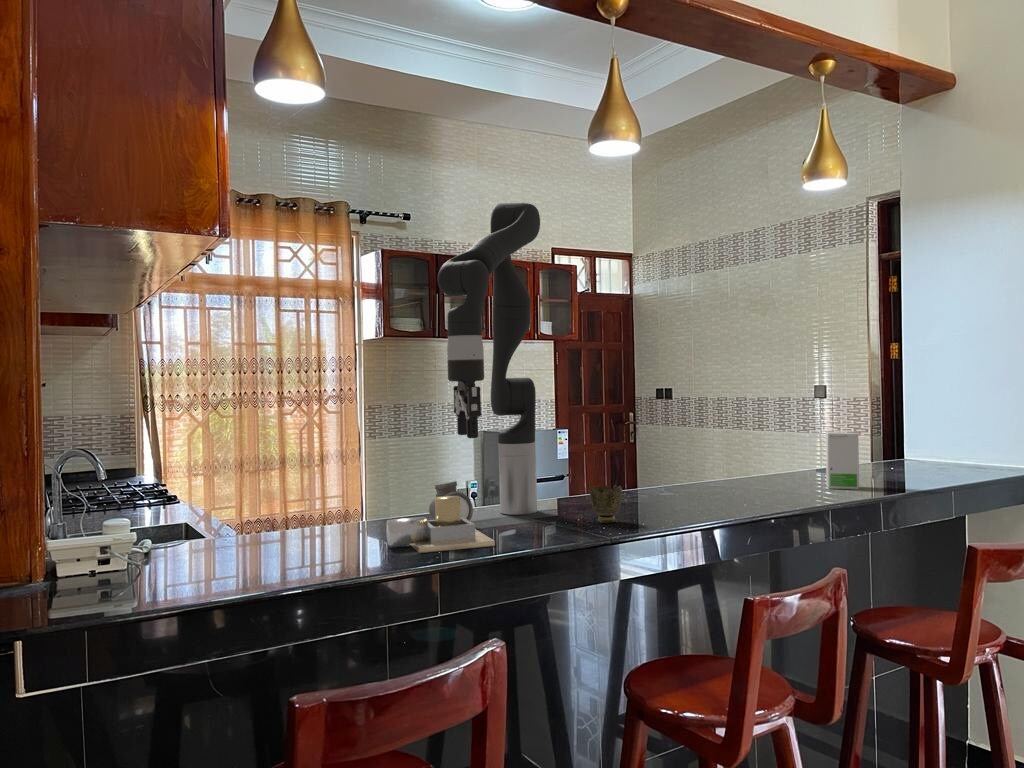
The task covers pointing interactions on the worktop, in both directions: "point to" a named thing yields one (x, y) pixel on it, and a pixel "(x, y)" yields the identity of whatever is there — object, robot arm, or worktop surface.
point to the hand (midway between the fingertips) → (467, 436)
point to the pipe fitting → (450, 490)
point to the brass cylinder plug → (447, 510)
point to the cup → (606, 502)
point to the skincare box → (842, 460)
